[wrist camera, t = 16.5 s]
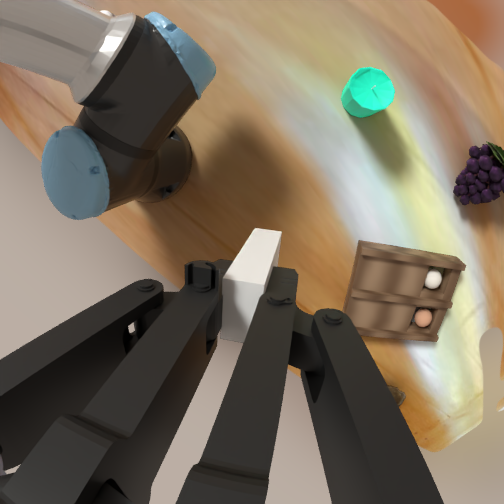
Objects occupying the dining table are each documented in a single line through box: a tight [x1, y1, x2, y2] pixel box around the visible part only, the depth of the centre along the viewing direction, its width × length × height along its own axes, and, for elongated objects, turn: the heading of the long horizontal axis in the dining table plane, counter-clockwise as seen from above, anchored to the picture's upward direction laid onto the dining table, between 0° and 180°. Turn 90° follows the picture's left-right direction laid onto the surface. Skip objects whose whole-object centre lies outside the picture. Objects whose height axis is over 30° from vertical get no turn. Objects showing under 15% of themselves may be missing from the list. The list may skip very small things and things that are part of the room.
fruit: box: [453, 141, 504, 205], centre depth 35 cm, size 10×11×15 cm
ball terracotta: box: [414, 308, 432, 327], centre depth 48 cm, size 4×4×4 cm
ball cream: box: [424, 268, 442, 289], centre depth 46 cm, size 4×4×4 cm
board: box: [342, 240, 466, 342], centre depth 47 cm, size 20×16×4 cm
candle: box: [341, 67, 395, 118], centre depth 34 cm, size 6×6×12 cm
